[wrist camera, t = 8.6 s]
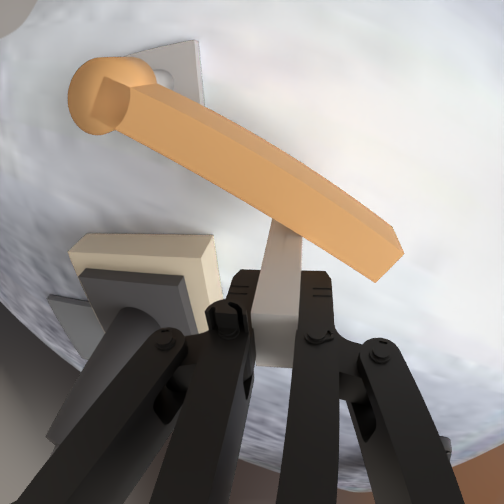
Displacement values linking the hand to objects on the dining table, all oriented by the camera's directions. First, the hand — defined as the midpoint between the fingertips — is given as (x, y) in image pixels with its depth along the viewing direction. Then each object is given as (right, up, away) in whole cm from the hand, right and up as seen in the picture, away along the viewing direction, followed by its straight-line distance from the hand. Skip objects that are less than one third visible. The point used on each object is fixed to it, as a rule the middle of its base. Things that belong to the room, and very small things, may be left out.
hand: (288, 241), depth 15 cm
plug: (-10, -4, +11) cm, 16 cm away
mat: (-20, -10, +17) cm, 29 cm away
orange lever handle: (-2, +4, -2) cm, 5 cm away
